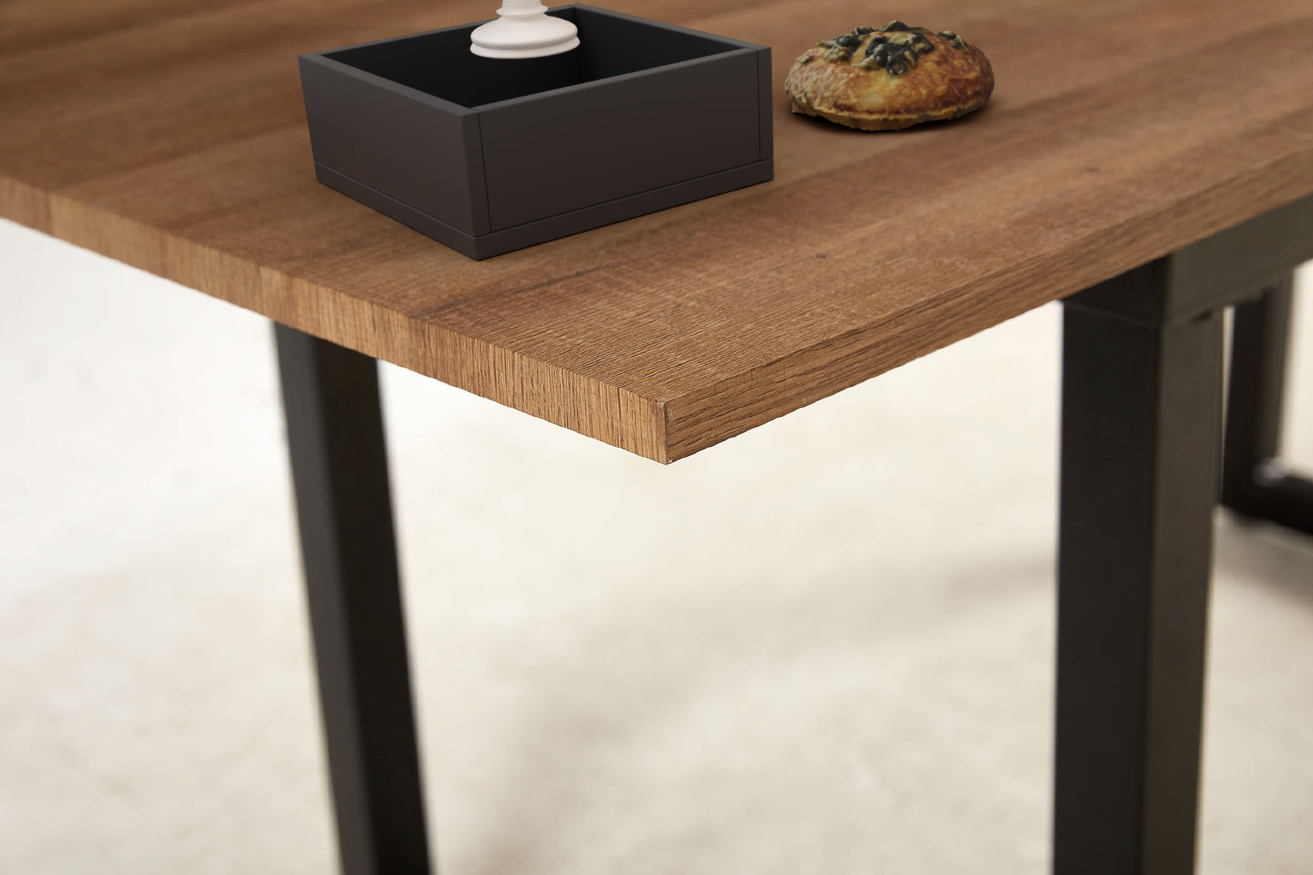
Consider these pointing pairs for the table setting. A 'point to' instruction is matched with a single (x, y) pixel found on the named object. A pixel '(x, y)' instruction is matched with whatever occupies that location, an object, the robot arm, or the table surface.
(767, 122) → the bin
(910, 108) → the bread roll
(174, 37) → the table surface
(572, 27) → the chess piece
